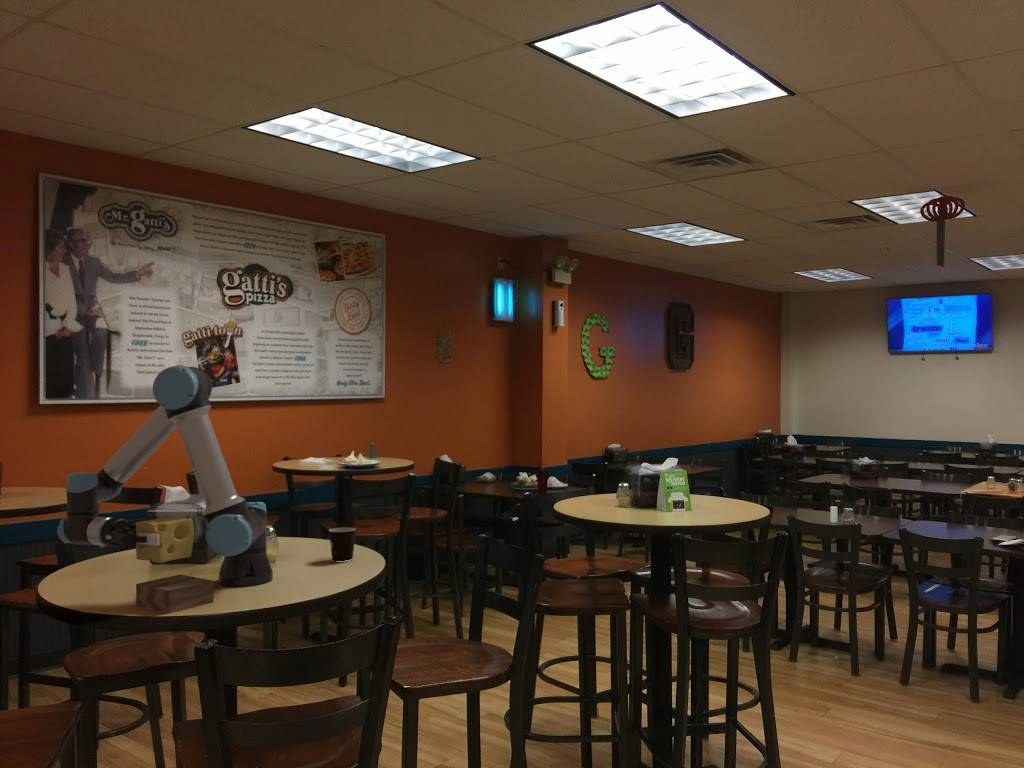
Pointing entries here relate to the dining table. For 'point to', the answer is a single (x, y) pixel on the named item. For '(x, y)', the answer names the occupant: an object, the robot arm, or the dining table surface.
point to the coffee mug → (342, 543)
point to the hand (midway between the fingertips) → (175, 535)
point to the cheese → (166, 539)
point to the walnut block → (174, 593)
